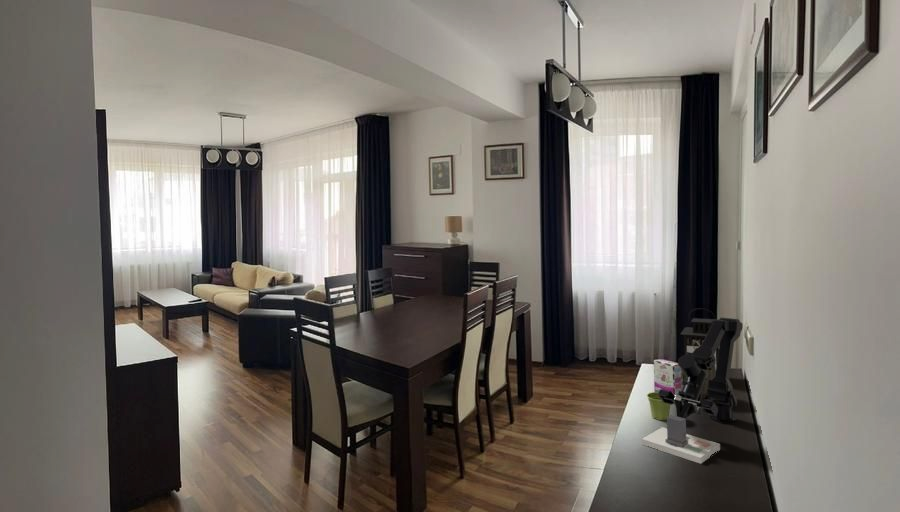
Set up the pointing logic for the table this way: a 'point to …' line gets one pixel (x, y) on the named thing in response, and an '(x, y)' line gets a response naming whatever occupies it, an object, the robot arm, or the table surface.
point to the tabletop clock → (709, 374)
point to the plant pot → (658, 406)
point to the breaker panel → (692, 451)
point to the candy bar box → (667, 376)
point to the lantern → (697, 334)
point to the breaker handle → (676, 431)
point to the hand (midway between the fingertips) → (678, 423)
